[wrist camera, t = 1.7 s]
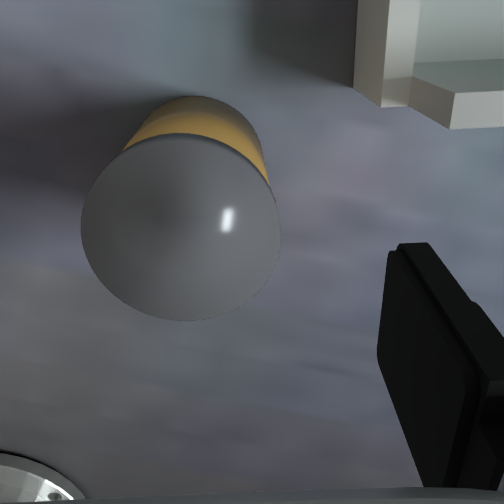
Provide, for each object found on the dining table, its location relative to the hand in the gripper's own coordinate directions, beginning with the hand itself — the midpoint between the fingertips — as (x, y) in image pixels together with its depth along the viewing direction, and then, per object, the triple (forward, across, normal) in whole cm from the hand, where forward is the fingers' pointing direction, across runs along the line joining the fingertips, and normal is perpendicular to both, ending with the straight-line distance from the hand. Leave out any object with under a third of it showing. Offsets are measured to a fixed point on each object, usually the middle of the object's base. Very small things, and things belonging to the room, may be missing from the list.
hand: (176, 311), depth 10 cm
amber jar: (+13, +1, +1) cm, 13 cm away
